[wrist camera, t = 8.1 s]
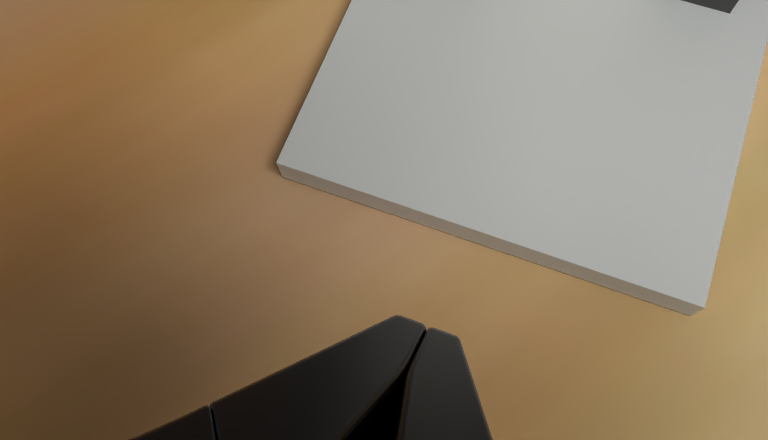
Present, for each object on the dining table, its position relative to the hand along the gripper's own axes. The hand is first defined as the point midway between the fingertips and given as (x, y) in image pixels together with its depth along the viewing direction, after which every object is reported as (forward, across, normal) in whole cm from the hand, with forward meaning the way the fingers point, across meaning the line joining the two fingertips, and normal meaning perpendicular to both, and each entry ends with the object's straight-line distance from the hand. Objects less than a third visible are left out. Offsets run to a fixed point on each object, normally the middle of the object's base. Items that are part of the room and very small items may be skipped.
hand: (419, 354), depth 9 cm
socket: (+18, 0, -4) cm, 18 cm away
